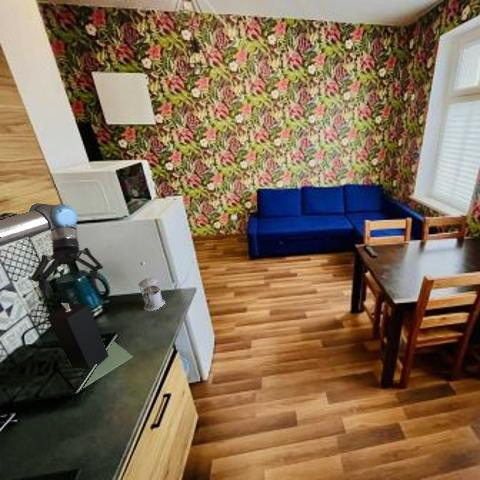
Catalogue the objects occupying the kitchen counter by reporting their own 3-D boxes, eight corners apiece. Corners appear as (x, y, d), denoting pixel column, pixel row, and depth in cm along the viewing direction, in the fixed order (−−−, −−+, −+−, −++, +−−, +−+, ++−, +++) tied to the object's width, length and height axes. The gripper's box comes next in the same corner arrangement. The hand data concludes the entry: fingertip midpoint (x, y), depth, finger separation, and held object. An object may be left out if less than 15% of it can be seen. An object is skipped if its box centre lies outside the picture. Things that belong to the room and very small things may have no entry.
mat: (54, 367, 101) (54, 366, 101) (109, 337, 115) (108, 337, 115) (77, 392, 91) (76, 391, 91) (133, 356, 106) (132, 356, 105)
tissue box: (92, 353, 106) (66, 295, 96) (109, 356, 105) (85, 297, 95) (72, 370, 99) (42, 308, 88) (91, 372, 98) (63, 310, 87)
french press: (151, 313, 130) (138, 268, 120) (137, 307, 135) (122, 263, 125) (169, 302, 138) (158, 259, 129) (155, 296, 143) (143, 255, 133)
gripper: (107, 239, 114) (114, 285, 108) (26, 252, 102) (30, 304, 96) (102, 231, 108) (109, 279, 102) (15, 244, 96) (18, 299, 90)
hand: (71, 291), depth 99 cm, fingers open, 13 cm apart
